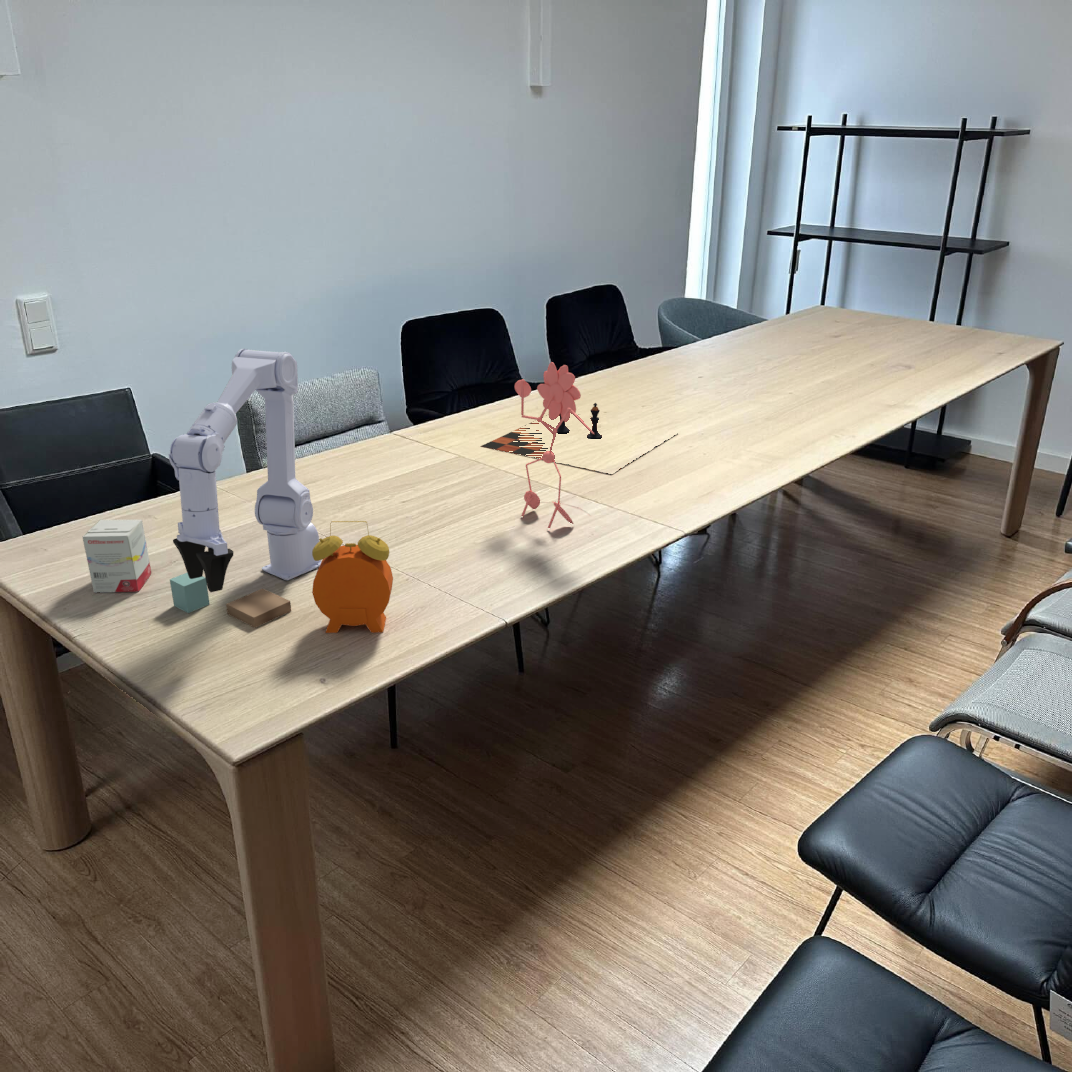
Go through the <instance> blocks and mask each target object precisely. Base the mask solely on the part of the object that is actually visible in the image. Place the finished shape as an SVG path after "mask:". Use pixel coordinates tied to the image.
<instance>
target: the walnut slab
mask: <svg viewBox="0 0 1072 1072" xmlns="http://www.w3.org/2000/svg"><path fill="white" fill-rule="evenodd" d="M225 606H226V614H227V615H228V616H230V617H232V618H234V619H236V620H239V621H241V622H242V623H244V624H246V625H248V626H251V627H253V628H258V627H260V626H263V625H265V624H266V623H269V622H271V621H273V620H276V619H277V618H279V617H281V616H284V615H286V614H289V613H290V612H292V603H291V600H289V599H287V598H285V597H282V596H280V595H278V594H277V593H274V592H272V591H270V590H267V589H265V588H260V589H258V590H255V591H253V592H251V593H249V594H247V595H244V596H241V597H240V598H237V599H234V600H233V601H230V602H228V603H226V604H225Z"/></svg>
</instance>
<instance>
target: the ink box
mask: <svg viewBox="0 0 1072 1072" xmlns="http://www.w3.org/2000/svg"><path fill="white" fill-rule="evenodd" d="M82 543H83V545H84V546H83V547H84V551H85V556H86V561H87V565H88V571H89V575H90V580H91V586H92V590H93V593H95V594H97V592H100V593H129V592H131V593H132V592H134V593H135V592H137V593H139V592H140V591H141V590H142V588H143V587H144V585H145V584H146V583H147V581H148V580H149V579H150V576H151V575H152V568H151V562H150V557H149V552H148V545H147V540H146V534H145V528H144V523H143V519H99V520H98V521H96V522H95V523H94V525H93V524H92V526H91V527H90V529H89V530H87V531H86V532H85V533H84V534H83V535H82ZM147 579H148V580H147Z"/></svg>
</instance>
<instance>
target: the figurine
mask: <svg viewBox="0 0 1072 1072" xmlns="http://www.w3.org/2000/svg"><path fill="white" fill-rule="evenodd" d="M557 369H558V368H557V366H556V365H555V363H554V362H552V361H551V362H550V363H549V364H548V367H547V370H545V371H544V372H543V382H544V383H540V384H538V385H537V387H536V389H537V392H538V394H539V395H540V397H541V398H542V399H543V401H542V406H543V410H542V412H541V414H540V415H539V417H538V416H537V417H535V416H529V415H525V414H524V413H525V412H524V408H525V407H524V405H525V401H524V400H525V398H527V397H529V396H530V395H531V393H532V388H531V386H530V384H529V383H528V382H527V381H526V380H525V379H524V378H523V379H519V380H517V381H516V382H515V383H514V390H515V392H516V393H517V394H518V396H519V397H520V399H521V407H520V411H521V412H520V415H521V418H523V419H529V420H534V421H536V420H537V421H538V422H541V423H542V424H543V425H544V426H545V427H546V428H547V429H548V430H549V431H550V432H551V433H552V434H553V439H552V443H551V447H550V451H546V452H544V454H543V456H542V458H541V459H535V460H533V461H531V462H528V463H526V464H525V468H526V469H525V470H526V474H527V475H526V476H527V480H528V481H527V482H528V487H529V490H527V491H525V493H524V495H523V500H524V502H525V505H524V508H523V510H522V513H521V515H520V517H521V516H524V517H525V514H526V512H527V509H528V506H529V507H530V508H531V509H532V510H533V509H535V510H536V509H537V508H538V507H540V505H541V502H540V501H541V499H540V497H539V496H538V494H537V493H536V492H534V491H533V490H532V486H531V485H532V484H531V481H530V480H531V479H530V472H529V467H528V466H529V465H532V464H534V463H537V462H540V461H543V462H544V463H546V464H551V463H553V462H554V463H553V464H554V467H555V469H556V472H557V474H558V476H559V478H558V479H559V482H558V498H557V502H558V503H556V501H553V506H554V507H555V508H554V511H553V513H552V516H551V518H550V521H549V524H548V526H547V528H550V529H551V527H552V525H553V522H554V520H555V516H556V514H557V512H558V513H559V514H560V515H561V516H562V517H563V518H564V520H566V521H567V522H568V523H569V522H570V523H572V524H574V521H573V520H572V518H571V516H570V515H569V514H568V513H567V511H566V510H564V508H563V507H562V506H561V503H560V502H561V487H562V475H561V472H560V471H559V467H558V464H557V463H555V460H554V459H555V455H554V453H553V452H552V451H551V450H552V446H553V443H554V440H555V437H556V433H557V429H558V428H559V426H560V425H561V423H562V422H563V421H565V422H567V421H568V420H569V418H570V413H571V414H573V415H574V416H575V417H576V418H577V419H578V420H579V421H580V422H581V423H582V424H583V425H584V426H585V427H586V428H587V429H588V430H589V431H590V432H591V433H592V434H594V432H593V431H592V430H591V429H590V428H589V427H588V426H587V425H586V424H585V423H584V421H583V420H582V419H581V418H580V417H579V416H578V415H579V414H578V415H577V413H576V412H577V405H576V402H575V401H578V400H580V399H581V396H582V394H581V392H580V390H579V388H578V387H577V386H575V385H574V384H575V382H576V376H575V375H574V374H573V373H572V372H569V366H568V365H566V364H563V365H562V366H560V367H559V369H558V370H557ZM547 411H548V415H549V418H550V419H551V420H554V419H556V418H557V417H558V416H559V414H561V417H562V419H561V420H560V422H559V423H558V425H557V426H556V428H554V427H552V426H551V425H549V424H547V423H546V422H544V421H542V418H543V417H544V416H545V414H546V412H547ZM549 427H550V428H551V429H553V431H552V430H551V429H550V428H549ZM570 523H569V524H570Z"/></svg>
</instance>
